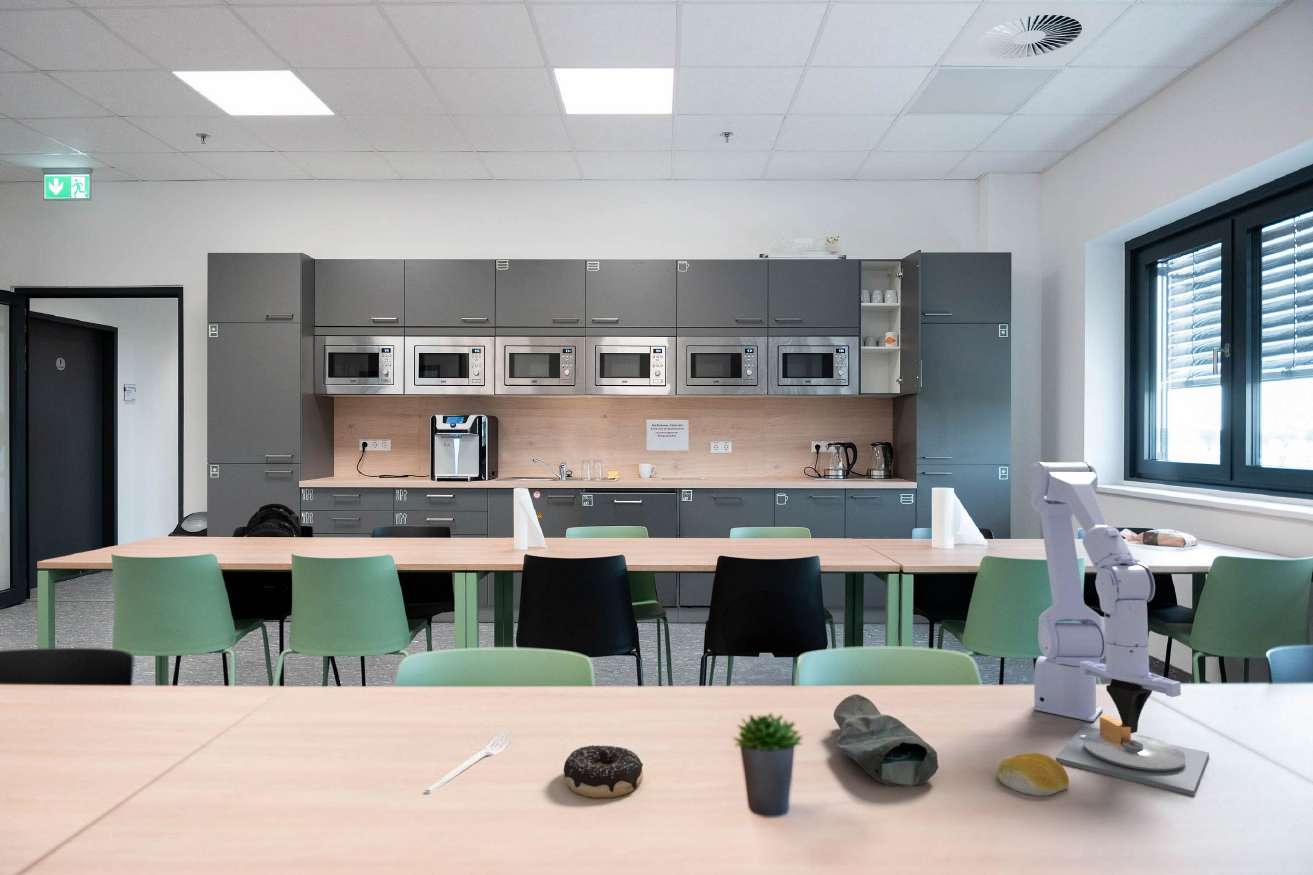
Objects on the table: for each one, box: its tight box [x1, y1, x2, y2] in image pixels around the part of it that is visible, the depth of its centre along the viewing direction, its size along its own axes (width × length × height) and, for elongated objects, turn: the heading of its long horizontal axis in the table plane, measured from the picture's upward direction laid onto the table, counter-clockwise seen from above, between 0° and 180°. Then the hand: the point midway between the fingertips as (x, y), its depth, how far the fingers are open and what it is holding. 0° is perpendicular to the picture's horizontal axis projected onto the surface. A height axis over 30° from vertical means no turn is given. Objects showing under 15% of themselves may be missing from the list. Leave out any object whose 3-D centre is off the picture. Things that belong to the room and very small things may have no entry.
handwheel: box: [1083, 715, 1185, 771], centre depth 117 cm, size 13×13×3 cm
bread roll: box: [996, 752, 1070, 797], centre depth 109 cm, size 8×9×4 cm
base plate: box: [1055, 725, 1210, 797], centre depth 117 cm, size 17×17×1 cm
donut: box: [563, 744, 644, 799], centre depth 109 cm, size 11×12×4 cm
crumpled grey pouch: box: [833, 693, 939, 787], centre depth 119 cm, size 13×7×25 cm
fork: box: [425, 730, 512, 795], centre depth 115 cm, size 3×20×2 cm, turn 160°
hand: (1129, 731), depth 120 cm, fingers closed, pressing on handwheel
